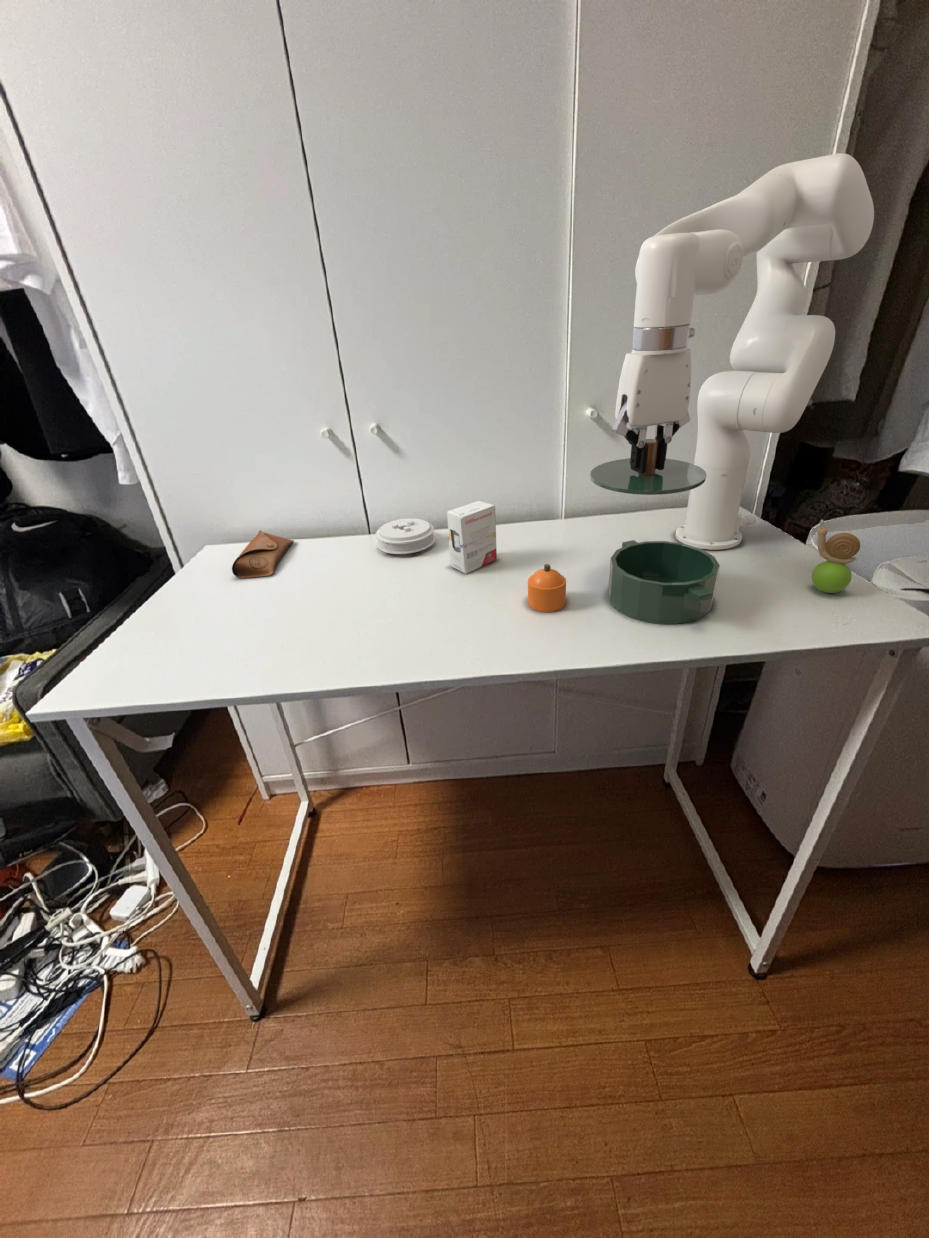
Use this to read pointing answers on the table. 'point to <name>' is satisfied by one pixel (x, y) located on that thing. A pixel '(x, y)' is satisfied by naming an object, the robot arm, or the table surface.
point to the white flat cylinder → (405, 536)
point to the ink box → (472, 536)
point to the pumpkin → (546, 590)
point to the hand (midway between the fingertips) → (647, 468)
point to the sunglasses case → (261, 556)
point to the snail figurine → (834, 560)
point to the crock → (662, 581)
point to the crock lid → (648, 475)
